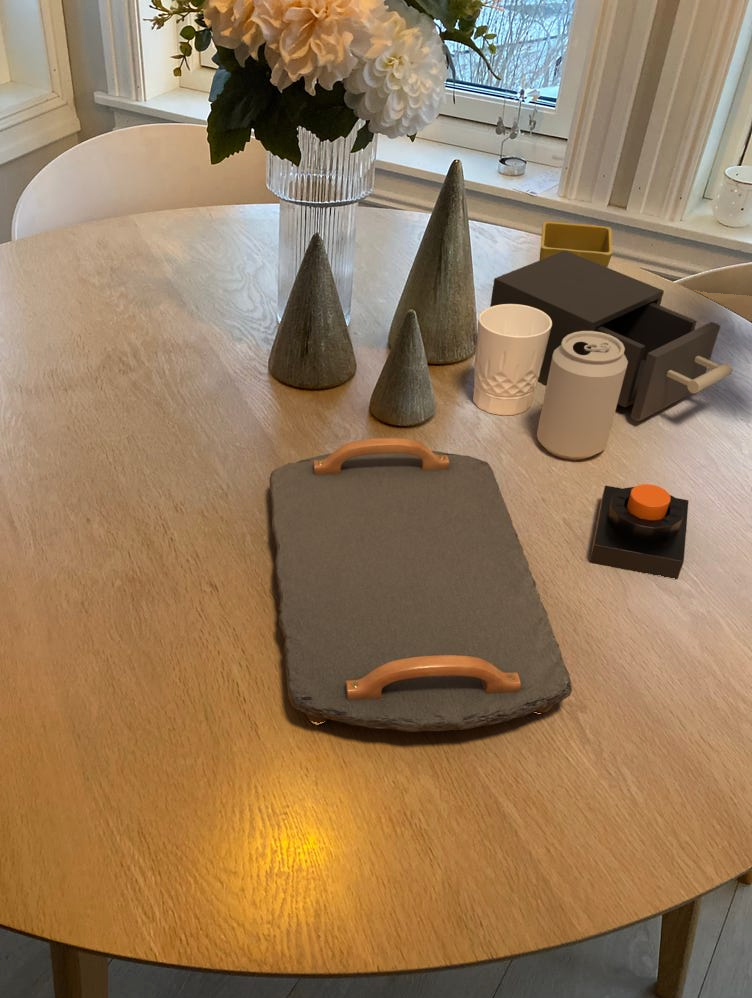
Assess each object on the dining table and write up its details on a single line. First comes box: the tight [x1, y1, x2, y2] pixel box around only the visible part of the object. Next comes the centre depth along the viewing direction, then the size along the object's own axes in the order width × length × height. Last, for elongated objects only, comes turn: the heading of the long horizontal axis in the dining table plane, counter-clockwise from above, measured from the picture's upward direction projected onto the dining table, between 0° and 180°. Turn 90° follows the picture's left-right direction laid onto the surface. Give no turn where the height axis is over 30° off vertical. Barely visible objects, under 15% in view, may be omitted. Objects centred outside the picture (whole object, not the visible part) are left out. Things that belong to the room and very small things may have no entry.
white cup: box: [472, 304, 552, 416], centre depth 112 cm, size 8×8×10 cm
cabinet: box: [489, 251, 665, 386], centre depth 119 cm, size 15×13×10 cm
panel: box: [589, 485, 689, 580], centre depth 95 cm, size 10×8×4 cm
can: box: [536, 331, 628, 461], centre depth 104 cm, size 8×8×12 cm
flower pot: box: [538, 221, 613, 268], centre depth 130 cm, size 9×9×9 cm
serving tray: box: [269, 437, 573, 733], centre depth 89 cm, size 39×23×6 cm, turn 3°
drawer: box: [595, 302, 733, 422], centre depth 112 cm, size 18×11×8 cm, turn 38°
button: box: [627, 483, 671, 520], centre depth 93 cm, size 4×4×2 cm
